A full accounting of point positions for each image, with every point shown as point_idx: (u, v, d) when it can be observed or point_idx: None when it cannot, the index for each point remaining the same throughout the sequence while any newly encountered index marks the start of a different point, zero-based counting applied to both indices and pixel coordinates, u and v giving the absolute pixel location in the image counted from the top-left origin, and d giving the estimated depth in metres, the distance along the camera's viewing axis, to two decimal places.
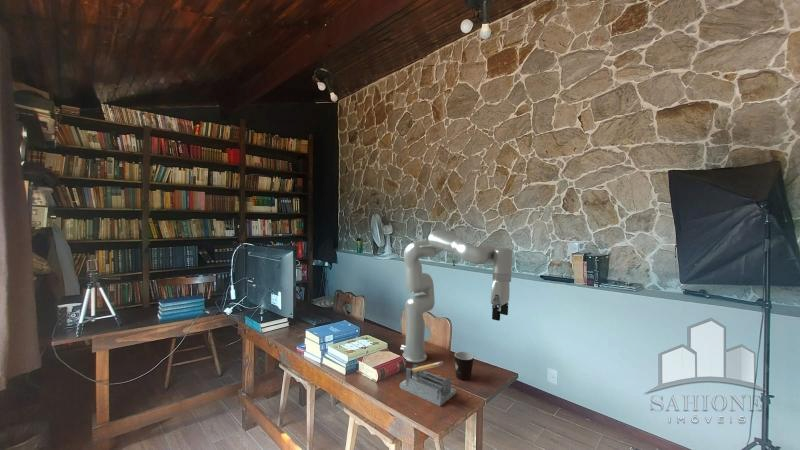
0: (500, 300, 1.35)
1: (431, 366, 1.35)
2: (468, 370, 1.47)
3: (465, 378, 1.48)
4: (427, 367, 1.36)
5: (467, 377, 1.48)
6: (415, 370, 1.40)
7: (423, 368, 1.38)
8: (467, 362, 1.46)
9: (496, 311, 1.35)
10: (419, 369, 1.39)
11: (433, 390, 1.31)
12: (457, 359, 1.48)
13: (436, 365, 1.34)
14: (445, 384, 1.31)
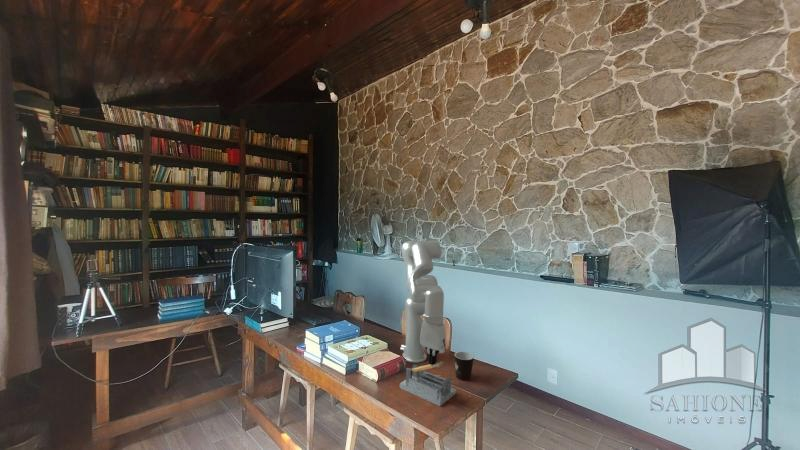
0: None
1: (431, 366, 1.35)
2: (468, 370, 1.47)
3: (465, 378, 1.48)
4: (427, 367, 1.36)
5: (467, 377, 1.48)
6: (415, 370, 1.40)
7: (423, 368, 1.38)
8: (467, 362, 1.46)
9: None
10: (419, 369, 1.39)
11: (433, 390, 1.31)
12: (457, 359, 1.48)
13: (436, 365, 1.34)
14: (445, 384, 1.31)
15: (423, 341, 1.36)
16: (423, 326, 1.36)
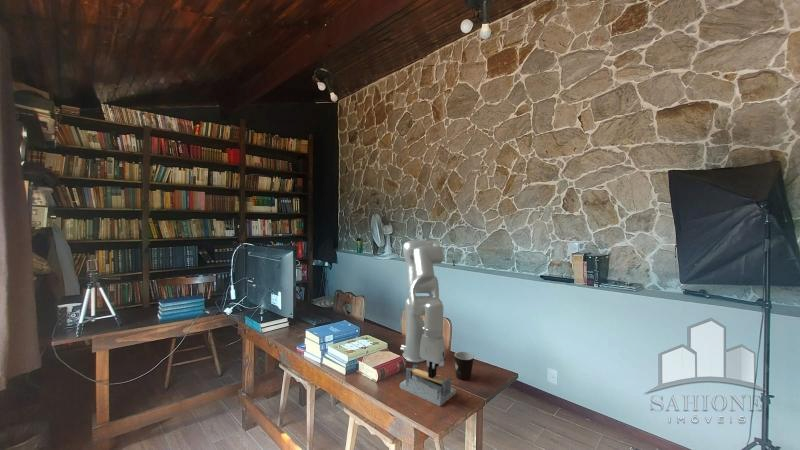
0: None
1: (434, 380, 1.34)
2: (468, 370, 1.47)
3: (465, 378, 1.48)
4: (429, 378, 1.36)
5: (467, 377, 1.48)
6: (416, 373, 1.40)
7: (425, 376, 1.37)
8: (467, 362, 1.46)
9: None
10: (420, 375, 1.39)
11: (433, 390, 1.31)
12: (457, 359, 1.48)
13: (439, 382, 1.33)
14: (445, 384, 1.31)
15: (423, 354, 1.36)
16: (423, 339, 1.36)
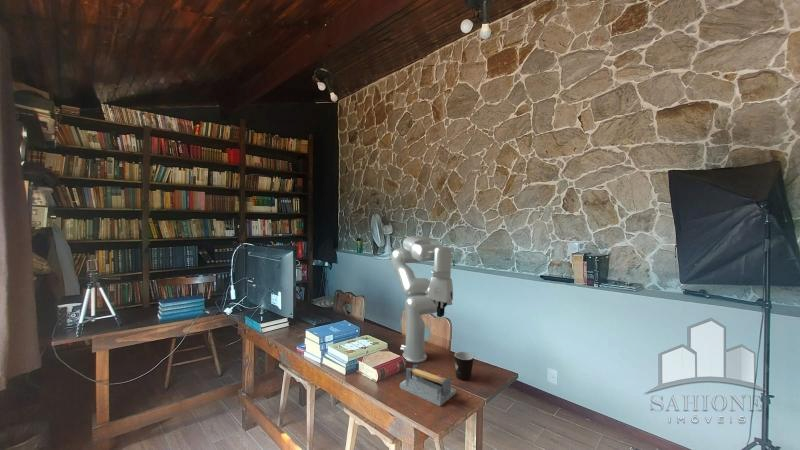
0: None
1: (433, 380, 1.34)
2: (468, 370, 1.47)
3: (465, 378, 1.48)
4: (429, 378, 1.36)
5: (467, 377, 1.48)
6: (416, 373, 1.40)
7: (425, 376, 1.37)
8: (467, 362, 1.46)
9: None
10: (420, 375, 1.39)
11: (433, 390, 1.31)
12: (457, 359, 1.48)
13: (439, 382, 1.33)
14: (445, 384, 1.31)
15: (432, 295, 1.45)
16: (432, 281, 1.45)
